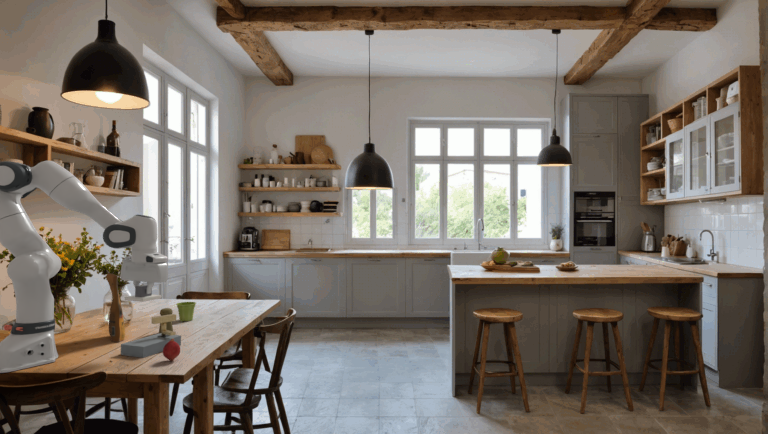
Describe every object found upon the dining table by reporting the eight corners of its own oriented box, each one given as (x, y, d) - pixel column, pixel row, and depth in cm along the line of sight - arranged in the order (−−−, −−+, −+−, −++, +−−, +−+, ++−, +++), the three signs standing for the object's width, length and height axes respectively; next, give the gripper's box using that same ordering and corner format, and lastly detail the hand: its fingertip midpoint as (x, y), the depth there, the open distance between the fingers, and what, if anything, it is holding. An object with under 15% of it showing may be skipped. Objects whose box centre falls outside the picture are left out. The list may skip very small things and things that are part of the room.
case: (143, 357, 177) (143, 346, 177) (120, 354, 180) (120, 343, 180) (180, 345, 194) (181, 334, 195) (159, 342, 198) (159, 332, 198)
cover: (143, 301, 178) (143, 287, 178) (124, 300, 181) (124, 286, 181) (161, 298, 186) (161, 284, 186) (143, 296, 189) (143, 283, 189)
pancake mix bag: (107, 344, 195) (108, 275, 195) (105, 334, 211) (106, 271, 211) (126, 342, 198) (127, 274, 199) (122, 333, 215) (123, 270, 215)
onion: (162, 363, 169) (162, 341, 170) (162, 359, 175) (163, 337, 175) (180, 362, 172) (180, 339, 172) (180, 357, 177) (180, 336, 177)
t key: (183, 335, 192) (184, 316, 193) (162, 339, 185) (162, 320, 185) (172, 332, 197) (173, 313, 197) (151, 336, 190) (151, 317, 190)
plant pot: (183, 323, 237) (183, 305, 237) (172, 320, 242) (172, 303, 242) (199, 319, 244) (200, 303, 245) (188, 317, 250) (188, 301, 250)
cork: (167, 334, 212) (167, 309, 212) (155, 333, 214) (155, 309, 214) (176, 331, 218) (176, 307, 218) (164, 331, 219) (164, 307, 220)
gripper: (116, 256, 184) (115, 292, 184) (158, 258, 177) (157, 296, 177) (130, 255, 190) (129, 290, 190) (171, 257, 183) (170, 293, 183)
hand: (143, 293), depth 183 cm, fingers closed on cover, 3 cm apart
